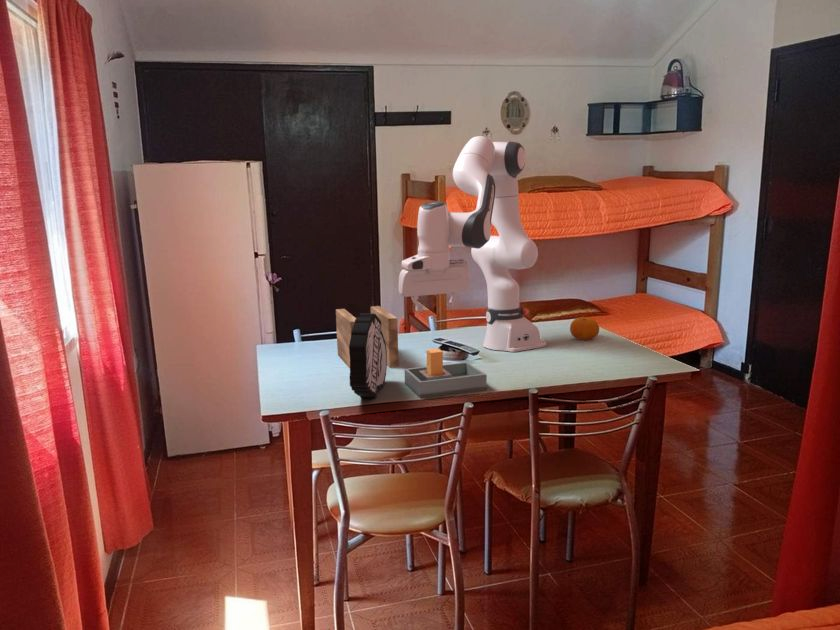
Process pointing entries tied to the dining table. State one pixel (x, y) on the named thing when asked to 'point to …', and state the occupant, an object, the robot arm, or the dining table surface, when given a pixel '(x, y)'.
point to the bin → (447, 380)
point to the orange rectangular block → (434, 362)
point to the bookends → (387, 327)
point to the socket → (425, 377)
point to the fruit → (584, 328)
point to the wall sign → (367, 356)
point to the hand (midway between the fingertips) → (434, 309)
